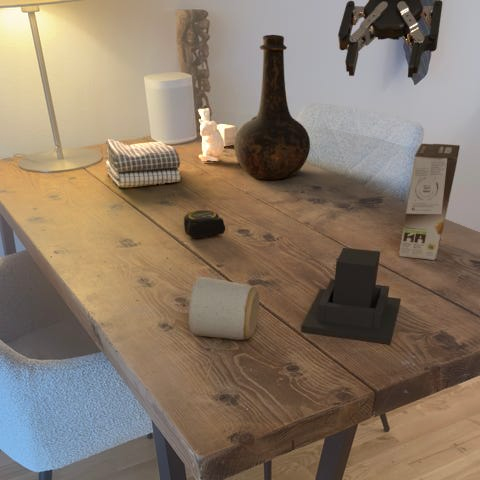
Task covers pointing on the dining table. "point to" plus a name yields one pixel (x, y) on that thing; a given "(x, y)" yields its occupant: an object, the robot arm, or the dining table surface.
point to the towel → (142, 163)
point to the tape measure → (203, 224)
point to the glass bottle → (272, 124)
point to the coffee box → (428, 200)
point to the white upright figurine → (210, 137)
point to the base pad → (353, 317)
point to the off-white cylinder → (223, 309)
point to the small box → (227, 133)
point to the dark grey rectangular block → (356, 277)
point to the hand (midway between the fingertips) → (380, 72)
